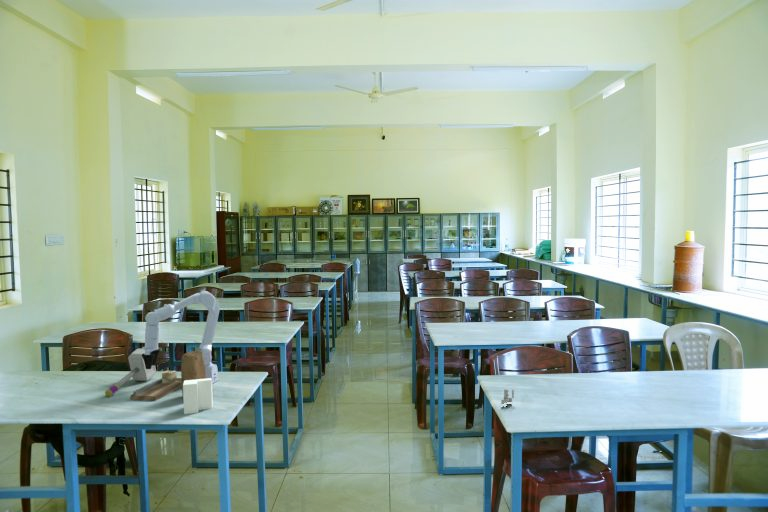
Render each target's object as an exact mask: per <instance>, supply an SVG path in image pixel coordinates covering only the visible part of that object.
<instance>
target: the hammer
mask: <svg viewBox="0 0 768 512" xmlns="http://www.w3.org/2000/svg"><path fill="white" fill-rule="evenodd" d="M143 353H145V350H144V349H142V348H136V349H135V350H134V351H133V352H131V354H129V355H128V357H127V360H128V364H129V368H130V372H128V373H127V374H125V376H124V377H122V378H121V379H119V380H118V381H117V382H116V383H115V384H113V385H111V387H109V388H108V389H106V390H105V391H104V394H105V396H106V397H108V398H109V397H112V396H113V394H115V393H116V392H117V391H118V390H119V389H120V388H122V387H123V385H124V384H126V383H127V382H128V381H130V379H131V378H132V380H133V381H135V382H149V380H150V379H152V378H153V377H154V376H155V375H156V374H157V369H156V364H155V365H152V367H151V369H146V368H145V363H144V359H143V357H142V354H143Z"/></svg>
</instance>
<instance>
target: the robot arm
mask: <svg viewBox="0 0 768 512" xmlns="http://www.w3.org/2000/svg"><path fill="white" fill-rule="evenodd" d="M201 304H202V305H203V306H204V307H205V309H206V310H207V311H208V312H207V317H206V322H205V326H204V331H203V334H202V339H201V342H200V344H199V348H198V350H197V351H201V352H202V356H203V359H204V363H205V371H206V378H211V380H212V384H214V383H216V382H217V381H219V380H220V379H219V374H218V373H219V372H218V371H219V370H218V366H217V365H218V364H215V363H212V359H213V356H212V345H213V341H214V337H215V332H216V328H217V323H218V319H219V316H220V315H219V314H220V306H219V304H218V301H217V298H216V297H215V296H214V294H212V293H211V292H209V291H207V290H202V291H200V292H196V293H194V294H192V295H190V296H188V297H186V298H184V299H182V300H180V301H178V302H176V303H173V304H171V303H168V304H167V303H165V304H163V306H162V307H160V308H158V309H154V310H153V311H150V312H148V313H147V314H146V315H145V321H146V323H145V331H144V332H145V333H144V335H145V336H144V338H145V339H144V346H142V347H141V349H144V350H145V353H143V354H142V357H143V359H144V363H145V368H146V369H151V367H152V365H155V366H156V364H157V361H158V357H159V354H160V352H161V349H159V337H160V336H159V335H160V333H159V331H160V330H159V329H160V328H159V323H160V322H162V321H165V320H166V319H169V318H171V317H173V316H175V315H176V313H177V311H179V310H183V308H186V307H189V306H190V305H201Z"/></svg>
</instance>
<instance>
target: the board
mask: <svg viewBox="0 0 768 512" xmlns="http://www.w3.org/2000/svg"><path fill="white" fill-rule="evenodd" d="M180 388H182V384H181V381H176V382H174V383H172V384H165V383H162V377H160V378H159V379H157V380H155V381H153V382H151V383H148V384H146V385H144V386H142V387H139V388H138V389H136V390H134V391H133V393H132V394H130V400H131V401H134V400H135V401H154V402H156V401H158V400H160V399H162V398H163V397H165V396H168V395H169V394H171V393H172V392H174V391H176V390H179V389H180Z"/></svg>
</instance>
